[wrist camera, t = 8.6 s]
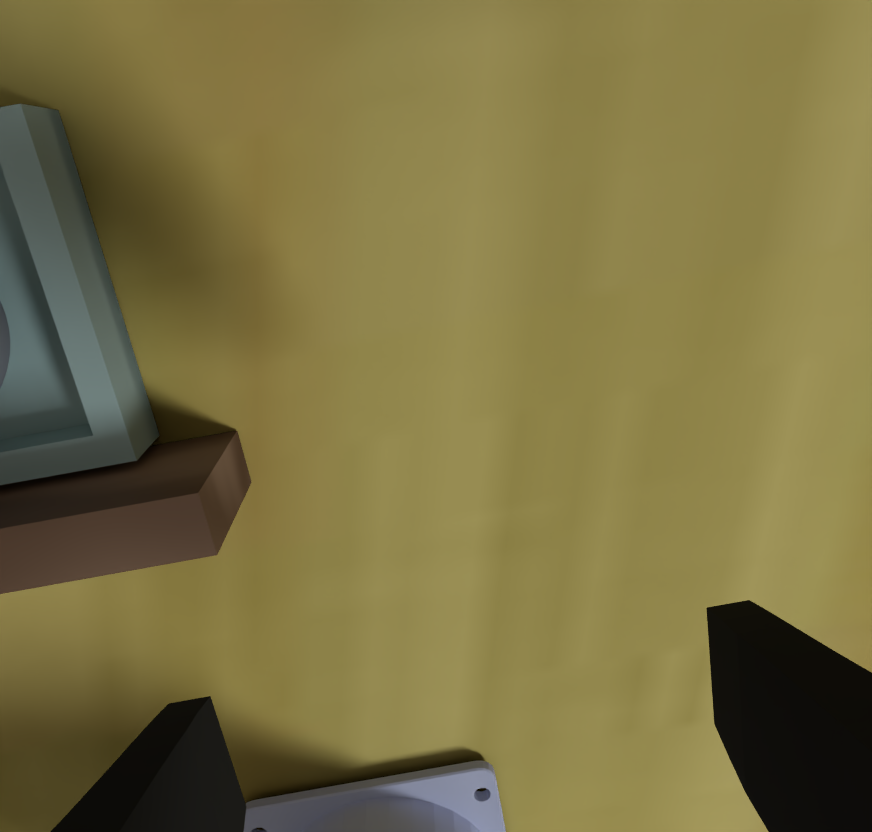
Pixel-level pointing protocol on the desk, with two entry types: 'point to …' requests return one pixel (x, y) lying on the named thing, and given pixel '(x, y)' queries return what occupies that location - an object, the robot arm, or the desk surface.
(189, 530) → the rail
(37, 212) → the dish
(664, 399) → the desk surface
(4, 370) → the ball
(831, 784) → the robot arm
